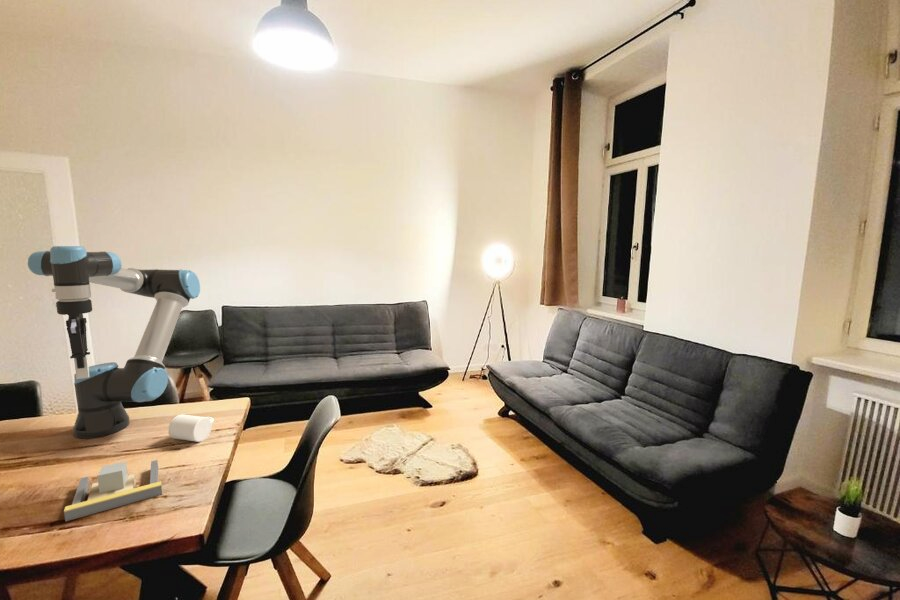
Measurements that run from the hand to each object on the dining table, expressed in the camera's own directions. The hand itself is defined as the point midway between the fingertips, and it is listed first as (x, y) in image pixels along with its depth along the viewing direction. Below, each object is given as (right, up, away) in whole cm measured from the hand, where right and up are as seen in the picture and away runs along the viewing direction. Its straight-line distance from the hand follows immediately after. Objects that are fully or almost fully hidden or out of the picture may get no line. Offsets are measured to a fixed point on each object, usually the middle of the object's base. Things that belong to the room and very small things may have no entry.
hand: (83, 377), depth 119 cm
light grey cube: (+20, -26, -13) cm, 35 cm away
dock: (+19, -29, -10) cm, 36 cm away
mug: (+21, -24, +20) cm, 38 cm away
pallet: (+20, -29, -12) cm, 37 cm away
